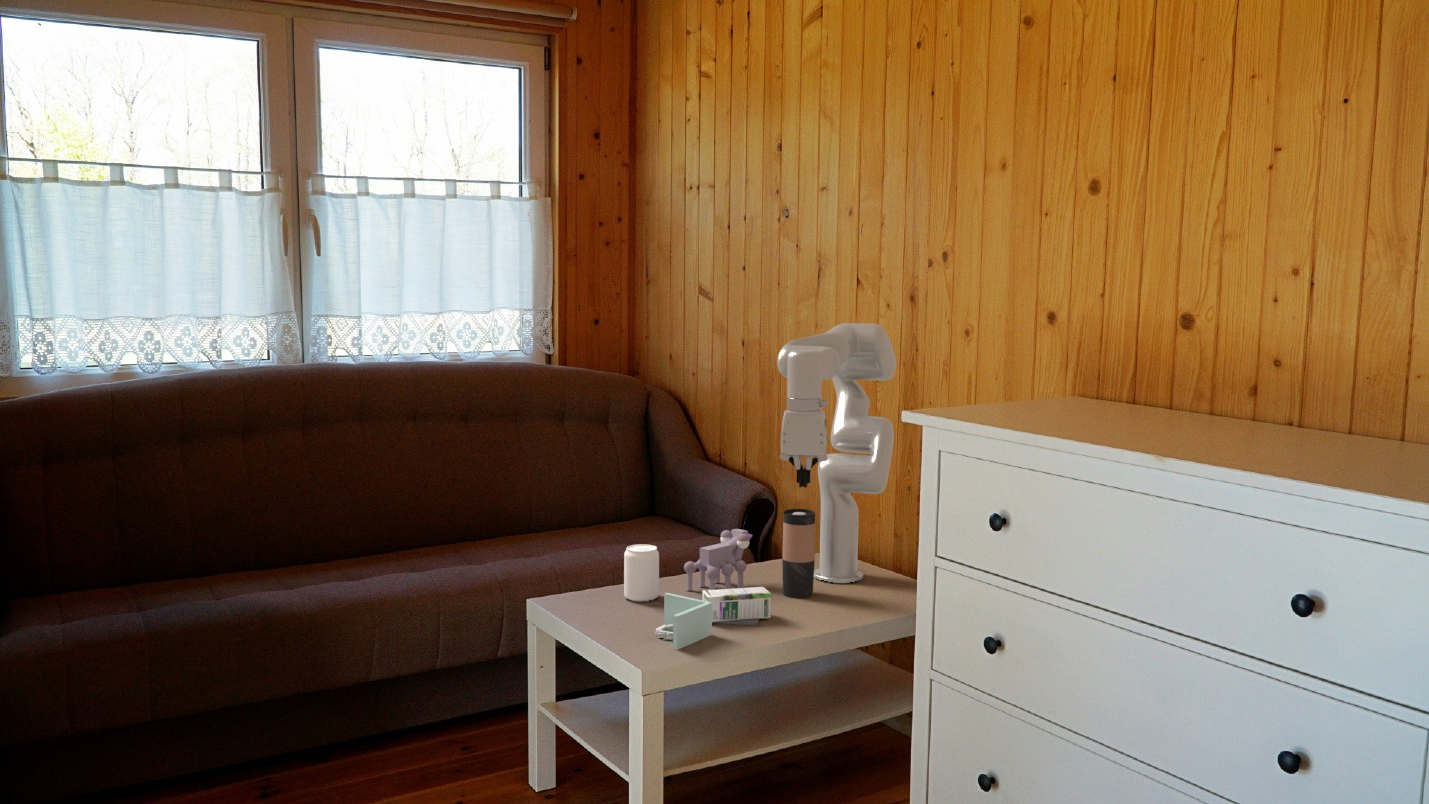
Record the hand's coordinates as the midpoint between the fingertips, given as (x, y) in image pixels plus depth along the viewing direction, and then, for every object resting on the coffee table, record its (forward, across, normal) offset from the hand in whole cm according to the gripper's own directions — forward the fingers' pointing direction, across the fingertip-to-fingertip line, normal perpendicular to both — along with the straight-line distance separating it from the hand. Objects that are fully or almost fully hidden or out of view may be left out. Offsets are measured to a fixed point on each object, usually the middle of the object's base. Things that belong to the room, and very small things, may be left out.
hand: (803, 486), depth 241 cm
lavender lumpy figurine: (+29, +20, -15) cm, 39 cm away
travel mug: (+29, +2, -12) cm, 32 cm away
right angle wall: (+28, +25, +25) cm, 45 cm away
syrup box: (+25, +7, +7) cm, 27 cm away
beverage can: (+29, +38, 0) cm, 47 cm away
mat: (+28, +19, +7) cm, 34 cm away
